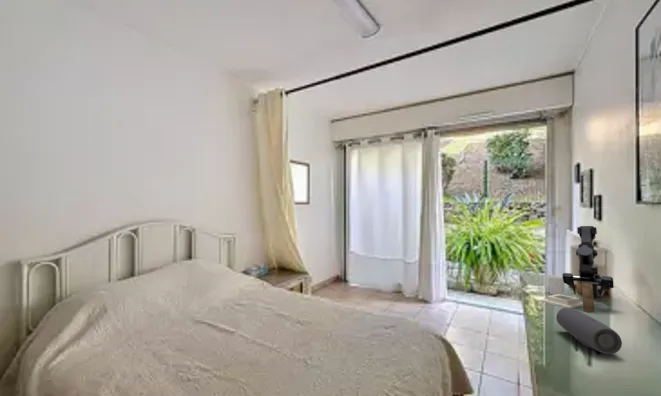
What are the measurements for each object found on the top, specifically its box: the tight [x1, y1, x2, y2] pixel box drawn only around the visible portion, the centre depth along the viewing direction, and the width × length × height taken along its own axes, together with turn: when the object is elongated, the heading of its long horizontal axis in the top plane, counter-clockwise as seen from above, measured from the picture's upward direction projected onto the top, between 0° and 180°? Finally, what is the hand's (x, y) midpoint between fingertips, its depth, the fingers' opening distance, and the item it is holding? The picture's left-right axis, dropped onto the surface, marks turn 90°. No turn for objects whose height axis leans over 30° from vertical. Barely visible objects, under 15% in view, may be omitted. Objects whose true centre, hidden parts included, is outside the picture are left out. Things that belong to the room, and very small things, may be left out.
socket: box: [540, 294, 583, 309], centre depth 157 cm, size 14×14×3 cm
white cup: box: [547, 275, 566, 295], centre depth 173 cm, size 8×8×10 cm
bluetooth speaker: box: [556, 307, 623, 355], centre depth 110 cm, size 23×9×10 cm, turn 168°
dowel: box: [580, 281, 595, 314], centre depth 144 cm, size 4×4×13 cm
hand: (587, 295), depth 144 cm, fingers open, 9 cm apart
